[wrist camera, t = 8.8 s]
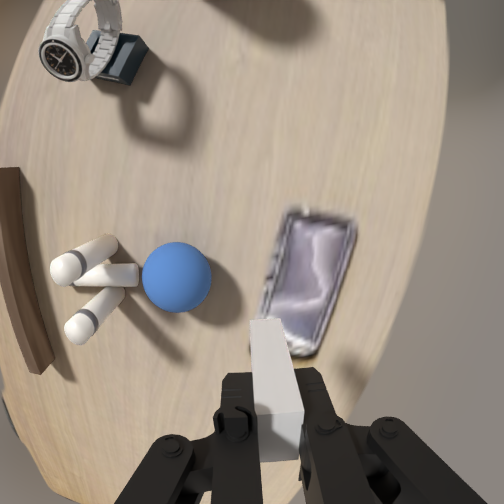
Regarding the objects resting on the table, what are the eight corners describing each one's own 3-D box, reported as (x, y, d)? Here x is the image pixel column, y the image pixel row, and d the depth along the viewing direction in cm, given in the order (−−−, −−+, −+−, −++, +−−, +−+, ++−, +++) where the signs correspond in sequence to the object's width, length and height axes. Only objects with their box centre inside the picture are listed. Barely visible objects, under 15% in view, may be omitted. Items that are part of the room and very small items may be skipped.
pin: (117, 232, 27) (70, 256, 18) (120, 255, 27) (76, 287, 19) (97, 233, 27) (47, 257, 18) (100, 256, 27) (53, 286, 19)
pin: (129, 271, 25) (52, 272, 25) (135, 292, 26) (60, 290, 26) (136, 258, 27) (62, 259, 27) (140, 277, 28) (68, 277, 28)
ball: (136, 248, 21) (140, 242, 27) (145, 325, 22) (147, 305, 27) (215, 241, 23) (203, 238, 28) (220, 317, 23) (207, 299, 29)
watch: (80, 93, 23) (14, 66, 12) (112, 27, 21) (65, -22, 11) (123, 103, 24) (63, 71, 13) (157, 34, 22) (120, -25, 11)
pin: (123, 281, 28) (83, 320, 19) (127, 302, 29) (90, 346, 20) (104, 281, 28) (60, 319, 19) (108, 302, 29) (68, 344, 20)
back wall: (19, 167, 24) (-4, 168, 21) (55, 358, 30) (40, 374, 26) (8, 170, 24) (-14, 171, 21) (44, 356, 30) (29, 372, 26)
